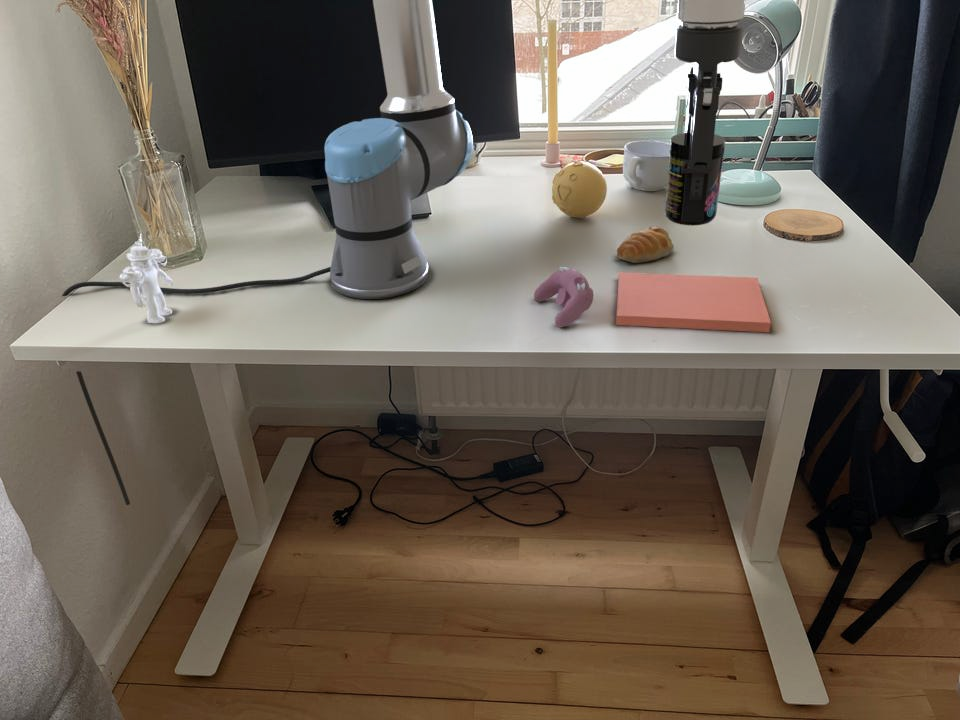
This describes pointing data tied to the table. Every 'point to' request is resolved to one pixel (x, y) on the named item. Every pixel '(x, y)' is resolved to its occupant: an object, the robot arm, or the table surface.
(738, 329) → the foam mat
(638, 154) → the teacup
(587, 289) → the video game controller
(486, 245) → the table surface
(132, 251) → the hat wearing toy figure
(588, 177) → the stress ball
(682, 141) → the supplement container
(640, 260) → the pastry
